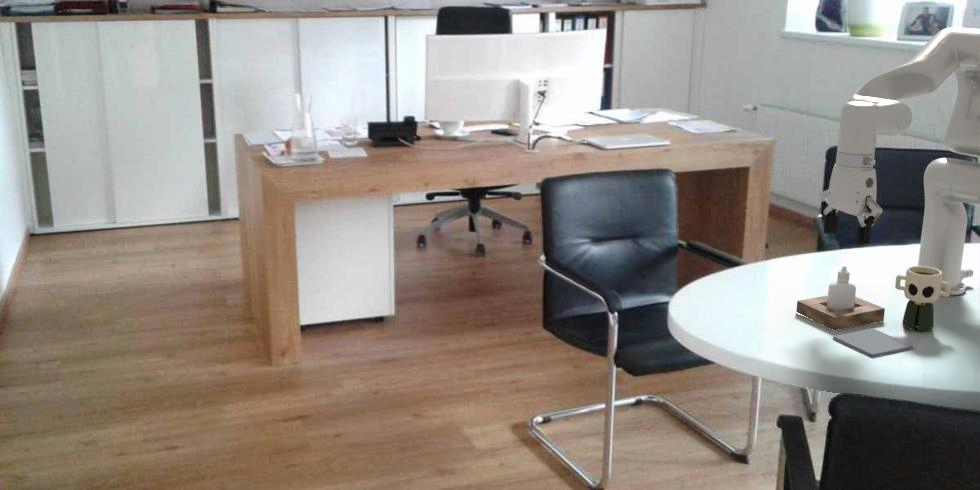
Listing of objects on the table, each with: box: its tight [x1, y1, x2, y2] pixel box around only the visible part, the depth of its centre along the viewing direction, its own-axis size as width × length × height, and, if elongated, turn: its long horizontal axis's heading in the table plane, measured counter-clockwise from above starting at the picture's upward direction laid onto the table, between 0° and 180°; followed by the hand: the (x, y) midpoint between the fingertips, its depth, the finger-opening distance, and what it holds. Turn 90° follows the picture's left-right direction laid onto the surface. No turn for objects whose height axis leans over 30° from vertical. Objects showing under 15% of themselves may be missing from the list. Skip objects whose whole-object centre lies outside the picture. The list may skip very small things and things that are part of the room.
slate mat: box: [832, 328, 914, 358], centre depth 210 cm, size 11×11×1 cm
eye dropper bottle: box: [827, 265, 857, 311], centre depth 223 cm, size 4×6×12 cm
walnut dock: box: [796, 295, 886, 331], centre depth 224 cm, size 14×12×3 cm
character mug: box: [894, 265, 951, 331], centre depth 217 cm, size 11×7×13 cm, turn 59°
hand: (846, 238), depth 220 cm, fingers open, 9 cm apart
